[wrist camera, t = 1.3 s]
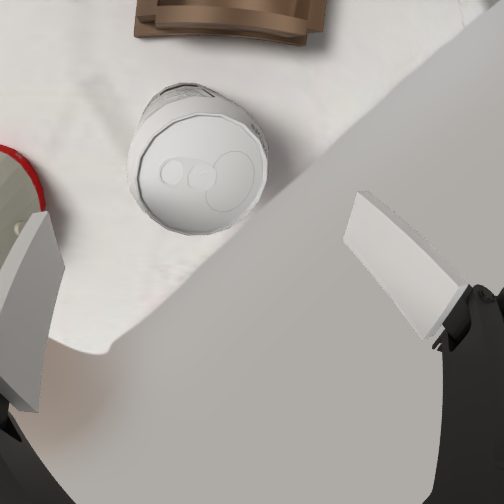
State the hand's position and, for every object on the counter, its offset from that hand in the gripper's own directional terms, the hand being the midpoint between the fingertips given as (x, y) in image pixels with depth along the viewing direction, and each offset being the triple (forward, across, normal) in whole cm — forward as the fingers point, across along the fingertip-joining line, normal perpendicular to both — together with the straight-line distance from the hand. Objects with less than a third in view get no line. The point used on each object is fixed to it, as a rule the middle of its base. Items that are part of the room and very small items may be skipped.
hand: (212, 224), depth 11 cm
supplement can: (+19, 0, 0) cm, 19 cm away
